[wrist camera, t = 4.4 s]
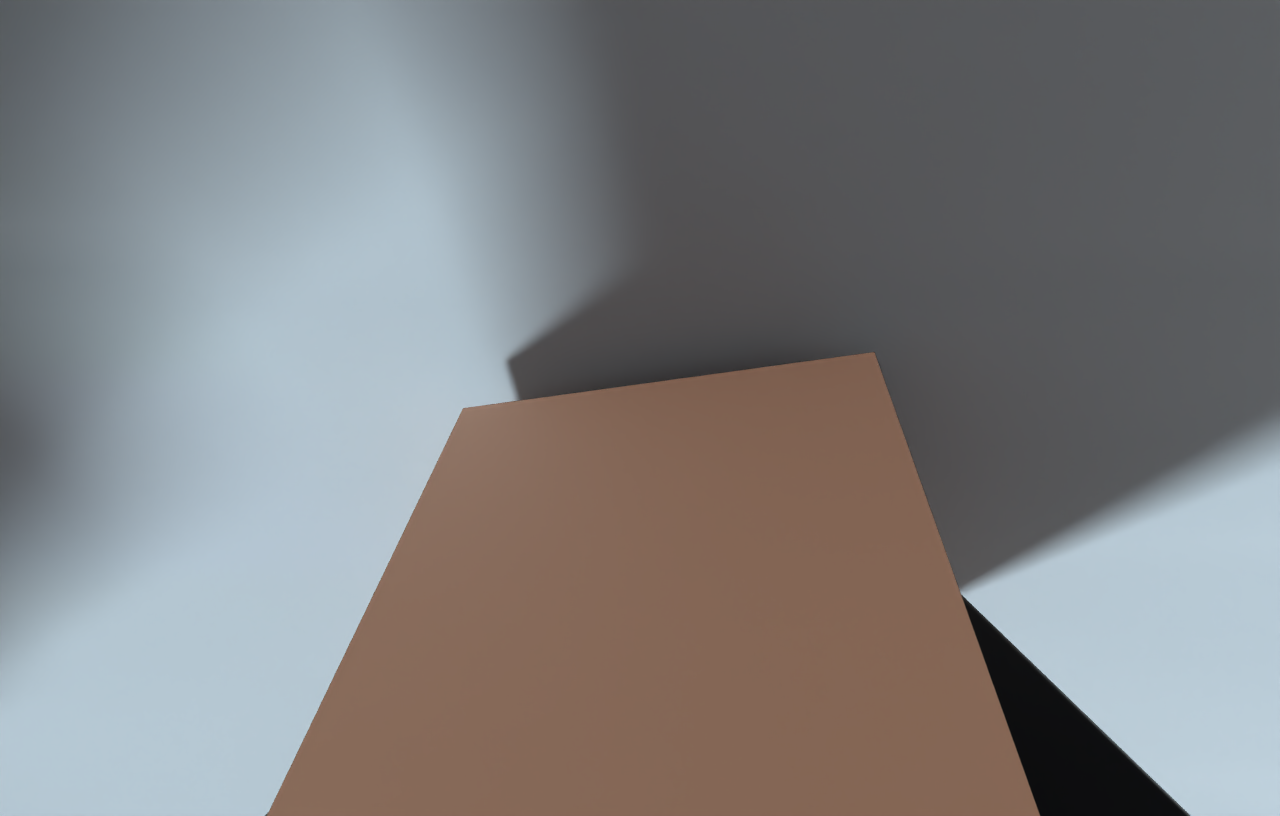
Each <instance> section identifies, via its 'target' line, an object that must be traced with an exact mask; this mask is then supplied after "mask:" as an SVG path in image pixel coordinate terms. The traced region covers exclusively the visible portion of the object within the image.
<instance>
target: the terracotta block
mask: <svg viewBox="0 0 1280 816" xmlns="http://www.w3.org/2000/svg"><path fill="white" fill-rule="evenodd" d="M267 816H1040V814H1039V811H1038V809H1037V806H1036V803H1035V800H1034V798H1033V795H1032V792H1031V789H1030V786H1029V784H1028V781H1027V778H1026V775H1025V772H1024V770H1023V767H1022V764H1021V761H1020V758H1019V756H1018V753H1017V750H1016V747H1015V744H1014V742H1013V739H1012V736H1011V733H1010V730H1009V728H1008V725H1007V722H1006V719H1005V716H1004V714H1003V711H1002V708H1001V705H1000V702H999V700H998V697H997V694H996V691H995V688H994V686H993V683H992V680H991V677H990V674H989V672H988V669H987V666H986V663H985V660H984V658H983V655H982V652H981V649H980V646H979V644H978V641H977V638H976V635H975V632H974V630H973V627H972V624H971V621H970V618H969V616H968V613H967V610H966V607H965V604H964V602H963V599H962V596H961V593H960V590H959V588H958V585H957V582H956V579H955V576H954V574H953V571H952V568H951V565H950V562H949V560H948V557H947V554H946V551H945V549H944V546H943V543H942V540H941V537H940V535H939V532H938V529H937V526H936V523H935V521H934V518H933V515H932V512H931V509H930V507H929V504H928V501H927V498H926V495H925V493H924V490H923V487H922V484H921V481H920V479H919V476H918V473H917V470H916V467H915V465H914V462H913V459H912V456H911V453H910V451H909V448H908V445H907V442H906V439H905V437H904V434H903V431H902V428H901V425H900V423H899V420H898V417H897V414H896V411H895V409H894V406H893V403H892V400H891V397H890V395H889V392H888V389H887V386H886V383H885V381H884V378H883V375H882V372H881V369H880V367H879V364H878V361H877V358H876V355H875V353H874V352H871V353H863V354H856V355H849V356H842V357H834V358H827V359H820V360H812V361H805V362H798V363H790V364H783V365H776V366H768V367H761V368H754V369H747V370H739V371H732V372H725V373H717V374H710V375H703V376H695V377H688V378H681V379H673V380H666V381H659V382H652V383H644V384H637V385H630V386H622V387H615V388H608V389H600V390H593V391H586V392H578V393H571V394H564V395H557V396H549V397H542V398H535V399H527V400H520V401H513V402H505V403H498V404H491V405H483V406H476V407H469V408H463V409H462V412H461V414H460V416H459V418H458V420H457V422H456V424H455V426H454V428H453V430H452V432H451V434H450V436H449V439H448V441H447V443H446V445H445V447H444V449H443V451H442V453H441V455H440V457H439V459H438V461H437V463H436V466H435V468H434V470H433V472H432V474H431V476H430V478H429V480H428V482H427V484H426V486H425V488H424V491H423V493H422V495H421V497H420V499H419V501H418V503H417V505H416V507H415V509H414V511H413V513H412V515H411V518H410V520H409V522H408V524H407V526H406V528H405V530H404V532H403V534H402V536H401V538H400V540H399V542H398V545H397V547H396V549H395V551H394V553H393V555H392V557H391V559H390V561H389V563H388V565H387V567H386V569H385V572H384V574H383V576H382V578H381V580H380V582H379V584H378V586H377V588H376V590H375V592H374V594H373V597H372V599H371V601H370V603H369V605H368V607H367V609H366V611H365V613H364V615H363V617H362V619H361V621H360V624H359V626H358V628H357V630H356V632H355V634H354V636H353V638H352V640H351V642H350V644H349V646H348V648H347V651H346V653H345V655H344V657H343V659H342V661H341V663H340V665H339V667H338V669H337V671H336V673H335V675H334V678H333V680H332V682H331V684H330V686H329V688H328V690H327V692H326V694H325V696H324V698H323V700H322V703H321V705H320V707H319V709H318V711H317V713H316V715H315V717H314V719H313V721H312V723H311V725H310V727H309V730H308V732H307V734H306V736H305V738H304V740H303V742H302V744H301V746H300V748H299V750H298V752H297V754H296V757H295V759H294V761H293V763H292V765H291V767H290V769H289V771H288V773H287V775H286V777H285V779H284V781H283V784H282V786H281V788H280V790H279V792H278V794H277V796H276V798H275V800H274V802H273V804H272V806H271V809H270V811H269V813H268V815H267Z"/></svg>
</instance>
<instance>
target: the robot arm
mask: <svg viewBox="0 0 1280 816" xmlns="http://www.w3.org/2000/svg"><path fill="white" fill-rule="evenodd" d="M961 596H962V595H961ZM962 599H963V602H964V604H965V607H966V610H967V613H968V616H969V618H970V621H971V624H972V627H973V630H974V632H975V635H976V638H977V641H978V644H979V646H980V649H981V652H982V655H983V658H984V660H985V663H986V666H987V669H988V672H989V674H990V677H991V680H992V683H993V686H994V688H995V691H996V694H997V697H998V700H999V702H1000V705H1001V708H1002V711H1003V714H1004V716H1005V719H1006V722H1007V725H1008V728H1009V730H1010V733H1011V736H1012V739H1013V742H1014V744H1015V747H1016V750H1017V753H1018V756H1019V758H1020V761H1021V764H1022V767H1023V770H1024V772H1025V775H1026V778H1027V781H1028V784H1029V786H1030V789H1031V792H1032V795H1033V798H1034V800H1035V803H1036V806H1037V809H1038V811H1039V814H1040V816H1190V815H1189V814H1188V813H1187V812H1186V811H1185V810H1184V809H1183V808H1182V807H1181V806H1180V805H1179V804H1178V803H1177V802H1176V801H1175V800H1174V799H1173V798H1172V797H1171V796H1170V795H1169V794H1167V793H1166V792H1165V791H1164V790H1163V789H1162V788H1161V787H1160V786H1159V785H1158V784H1157V783H1156V782H1155V781H1154V780H1153V779H1152V778H1151V777H1150V776H1149V775H1148V774H1147V773H1146V772H1145V771H1144V770H1143V769H1142V768H1141V767H1139V766H1138V765H1137V764H1136V763H1135V762H1134V761H1133V760H1132V759H1131V758H1130V757H1129V756H1128V755H1127V754H1126V753H1125V752H1124V751H1123V750H1122V749H1121V748H1120V747H1119V746H1118V745H1117V744H1116V743H1115V742H1114V741H1113V740H1112V739H1110V738H1109V737H1108V736H1107V735H1106V734H1105V733H1104V732H1103V731H1102V730H1101V729H1100V728H1099V727H1098V726H1097V725H1096V724H1095V723H1094V722H1093V721H1092V720H1091V719H1090V718H1089V717H1088V716H1087V715H1086V714H1085V713H1084V712H1082V711H1081V710H1080V709H1079V708H1078V707H1077V706H1076V705H1075V704H1074V703H1073V702H1072V701H1071V700H1070V699H1069V698H1068V697H1067V696H1066V695H1065V694H1064V693H1063V692H1062V691H1061V690H1060V689H1059V688H1058V687H1057V686H1056V685H1054V684H1053V683H1052V682H1051V681H1050V680H1049V679H1048V678H1047V677H1046V676H1045V675H1044V674H1043V673H1042V672H1041V671H1040V670H1039V669H1038V668H1037V667H1036V666H1035V665H1034V664H1033V663H1032V662H1031V661H1030V660H1029V659H1028V658H1026V657H1025V656H1024V655H1023V654H1022V653H1021V652H1020V651H1019V650H1018V649H1017V648H1016V647H1015V646H1014V645H1013V644H1012V643H1011V642H1010V641H1009V640H1008V639H1007V638H1006V637H1005V636H1004V635H1003V634H1002V633H1001V632H1000V631H999V630H997V629H996V628H995V627H994V626H993V625H992V624H991V623H990V622H989V621H988V620H987V619H986V618H985V617H984V616H983V615H982V614H981V613H980V612H979V611H978V610H977V609H976V608H975V607H974V606H973V605H972V604H971V603H969V602H968V601H967V600H966V599H965V598H964V597H963V596H962ZM268 813H269V812H268ZM268 813H267V814H266V815H265V816H267V815H268Z"/></svg>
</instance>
